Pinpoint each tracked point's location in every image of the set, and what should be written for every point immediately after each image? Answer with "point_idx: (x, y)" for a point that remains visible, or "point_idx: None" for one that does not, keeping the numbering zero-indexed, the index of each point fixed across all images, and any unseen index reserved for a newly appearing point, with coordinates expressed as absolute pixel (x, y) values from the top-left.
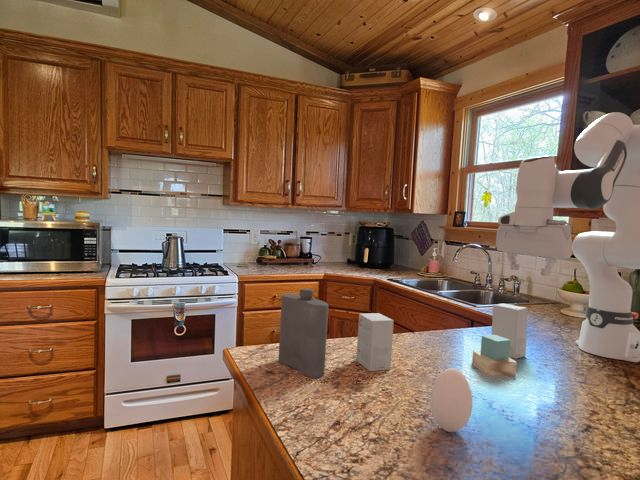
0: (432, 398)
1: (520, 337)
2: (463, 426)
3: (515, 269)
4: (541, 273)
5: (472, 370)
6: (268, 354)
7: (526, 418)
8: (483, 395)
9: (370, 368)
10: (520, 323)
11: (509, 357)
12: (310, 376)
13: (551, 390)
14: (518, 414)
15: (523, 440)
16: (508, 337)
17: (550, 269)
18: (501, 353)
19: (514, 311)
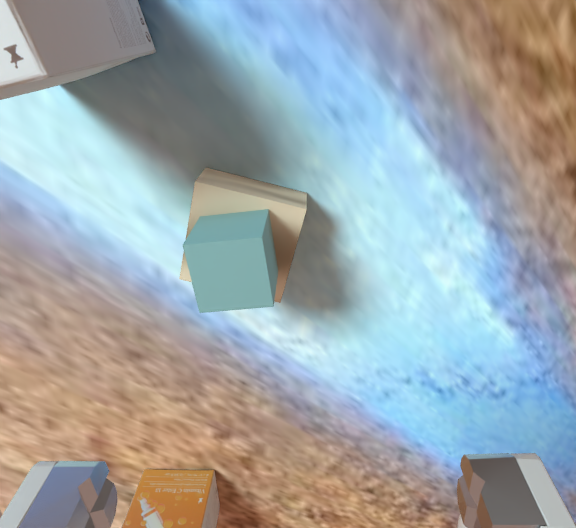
0: None
1: (107, 16)
2: None
3: (111, 496)
4: (470, 513)
5: None
6: None
7: (513, 362)
8: (392, 370)
9: (218, 510)
10: (74, 25)
11: (259, 197)
12: None
13: (430, 170)
14: (493, 364)
15: (564, 423)
16: (90, 71)
17: (565, 521)
18: (272, 256)
19: (35, 81)
